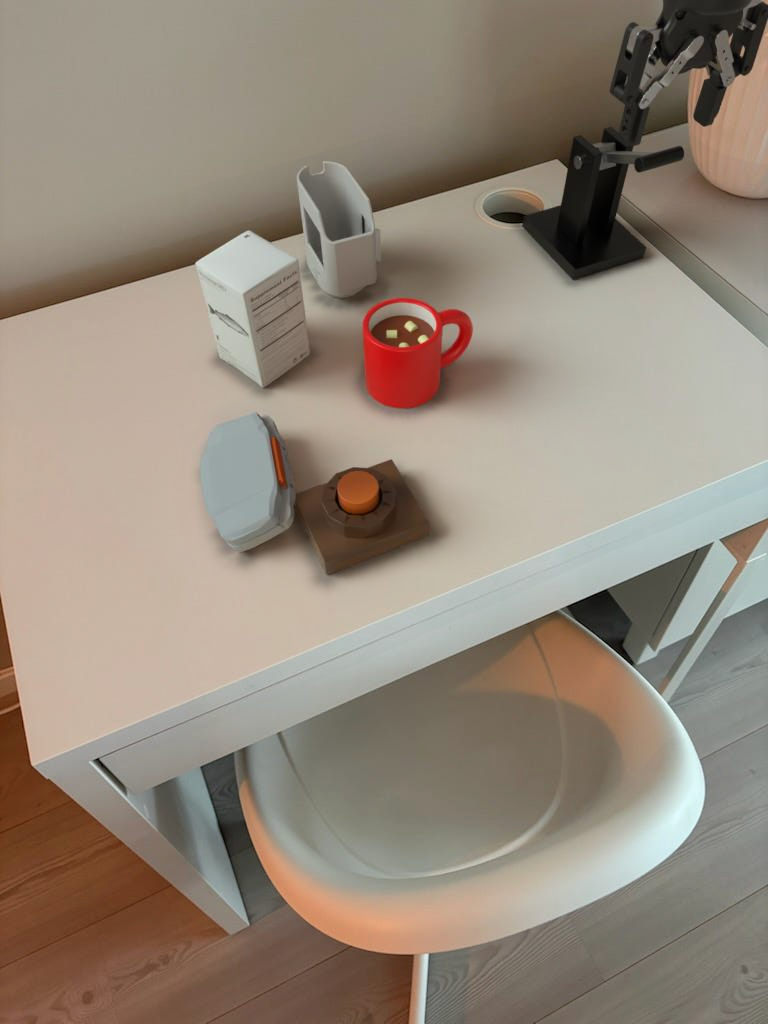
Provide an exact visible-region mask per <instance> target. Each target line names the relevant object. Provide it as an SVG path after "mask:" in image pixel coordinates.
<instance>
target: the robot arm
mask: <svg viewBox="0 0 768 1024" xmlns="http://www.w3.org/2000/svg"><path fill="white" fill-rule="evenodd" d="M767 24H768V3H767V2H764V1H763V0H662V10H661V12H660V15H659V16H658V18H657V20H656V21H655V23H654V24H651V25H650V24H649V25H645V26H641V25H640V24H639V23H637V22H635V21H631V22H630V23H629V24H628V25H626V28H625V29H624V33H623V37H622V42H621V44H620V49H619V51H618V52H619V53H618V56H617V60H616V63H615V68H614V72H613V76H612V79H611V83H610V87H609V93H610V94H611V95H612V96H613V97H614V98H616V99H617V100H618V101H619V102H620V103H622V104H623V105H624V109H623V113H622V117H621V121H620V125H619V131H618V132H619V133H620V135H621V137H622V139H623V140H624V141H625V142H626V143H627V144H629V145H630V146H634V147H636V146H639V145H640V144H641V142H642V139H643V135H644V131H645V127H646V124H647V120H648V116H649V112H650V107H649V106H650V104H651V103H652V102H653V100H654V99H655V97H656V96H657V95H658V94H659V92H660V91H661V90H662V89H665V88H667V87H668V86H670V84H671V83H672V82H673V81H674V80H675V78H676V77H677V76H678V75H682V74H686V73H687V72H690V71H691V70H693V69H696V70H697V69H698V70H699V69H700V70H701V69H704V68H705V70H706V73H707V76H709V78H705V79H703V82H702V85H701V89H700V91H699V95H698V98H697V100H696V101H697V102H696V105H695V107H694V110H693V114H692V115H693V116H692V117H693V120H694V121H695V122H696V123H698V124H699V125H700V126H702V127H703V128H705V127H709V126H713V124H714V122H715V119H716V117H717V116H718V115H719V113H720V110H721V106H722V104H723V101H724V99H725V96H726V95H725V94H726V93H727V89H728V87H730V86H731V85H732V84H733V83H734V81H735V79H736V78H737V77H739V76H740V75H741V76H743V77H745V76H748V75H749V74H750V73H751V72H752V70H753V68H754V64H755V61H756V58H757V56H758V51H759V49H760V46H761V42H762V39H763V36H764V33H765V29H766V27H767ZM743 48H744V51H743V54H742V50H743ZM741 54H742V55H741ZM659 60H660V61H661V64H662V65H663V66H664V69H662V70H660V69H658V68H657V67H656V64H657V62H658V61H659ZM650 79H651V80H650ZM649 80H650V82H649V83H648V84H647V86H646V87H645V88H644V90H643V87H644V86H645V85H646V83H647V82H648V81H649Z"/></svg>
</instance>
